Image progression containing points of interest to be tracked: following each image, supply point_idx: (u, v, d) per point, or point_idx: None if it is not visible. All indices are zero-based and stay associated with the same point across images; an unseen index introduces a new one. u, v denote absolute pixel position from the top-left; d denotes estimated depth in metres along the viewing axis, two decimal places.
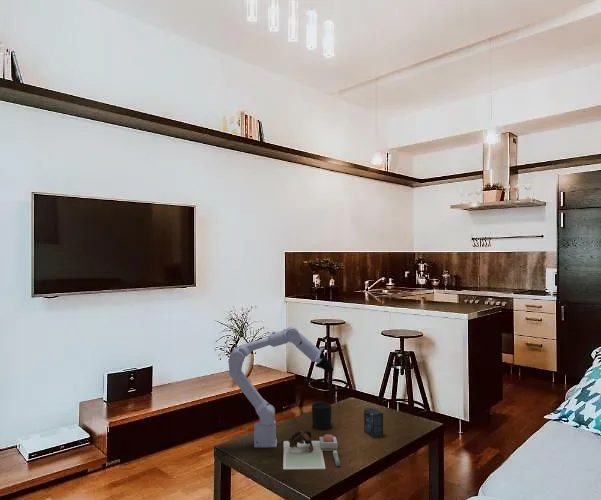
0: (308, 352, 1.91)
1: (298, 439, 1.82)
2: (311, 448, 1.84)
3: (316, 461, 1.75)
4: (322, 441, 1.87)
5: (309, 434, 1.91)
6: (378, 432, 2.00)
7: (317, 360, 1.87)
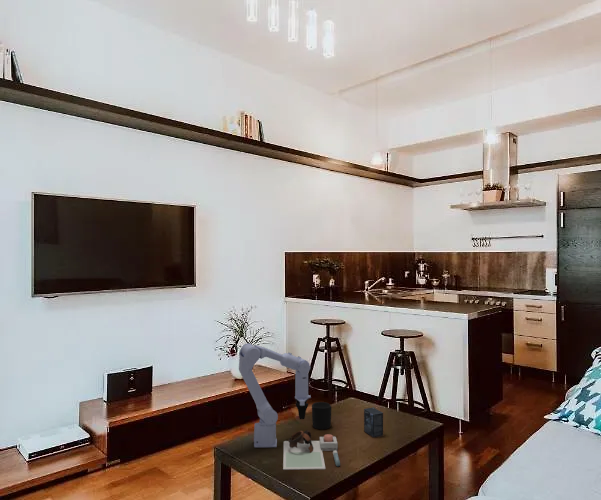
0: (300, 389, 1.97)
1: (298, 439, 1.82)
2: (311, 448, 1.84)
3: (316, 461, 1.75)
4: (322, 441, 1.87)
5: (309, 434, 1.91)
6: (378, 432, 2.00)
7: (301, 402, 1.92)
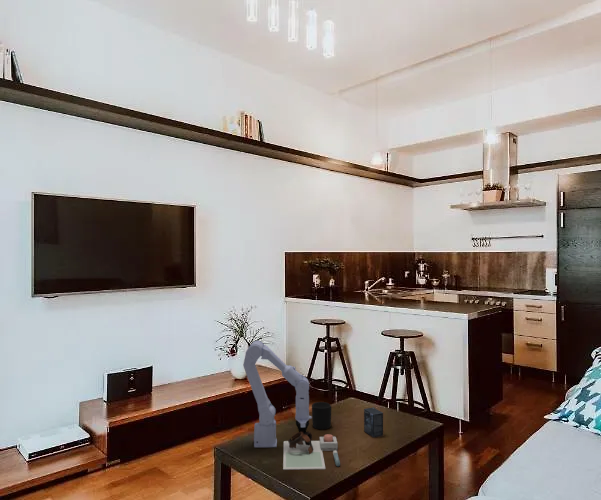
0: (300, 410, 1.89)
1: (297, 440, 1.81)
2: (310, 449, 1.82)
3: (316, 461, 1.75)
4: (322, 441, 1.87)
5: (310, 435, 1.89)
6: (378, 432, 2.00)
7: (302, 424, 1.85)
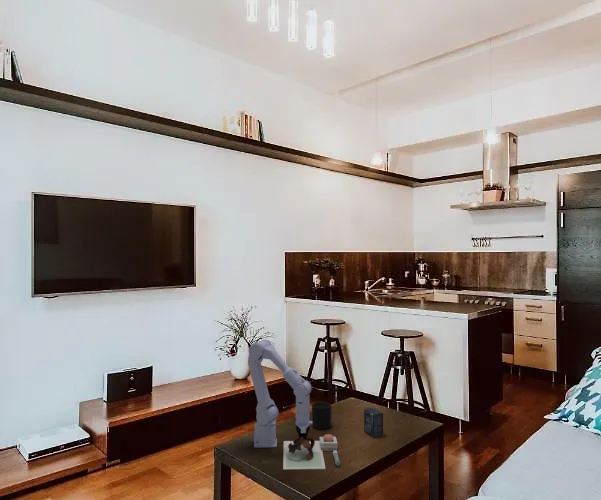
0: (301, 415, 1.83)
1: (295, 445, 1.76)
2: (309, 456, 1.76)
3: (316, 461, 1.75)
4: (322, 441, 1.87)
5: (312, 441, 1.83)
6: (378, 432, 2.00)
7: (302, 430, 1.79)
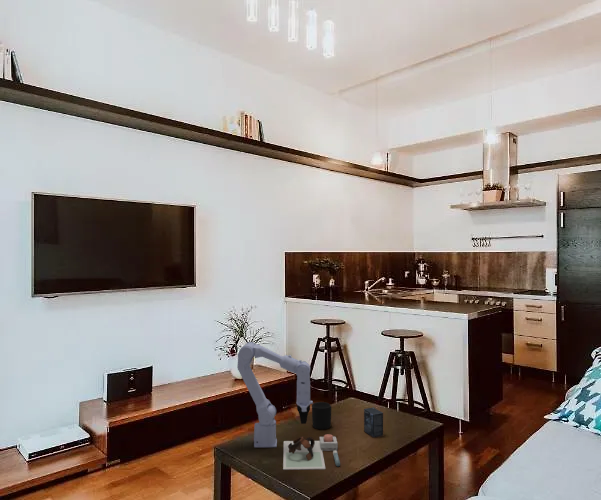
0: (301, 395, 1.88)
1: (295, 445, 1.76)
2: (309, 456, 1.76)
3: (316, 461, 1.75)
4: (322, 441, 1.87)
5: (312, 441, 1.83)
6: (378, 432, 2.00)
7: (303, 408, 1.84)
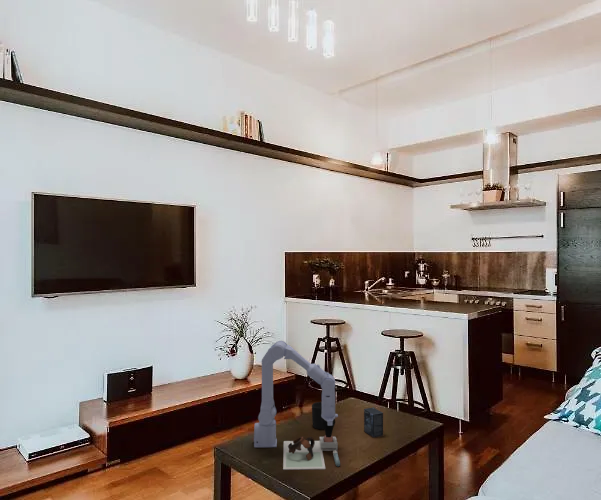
0: (327, 408, 1.87)
1: (295, 445, 1.76)
2: (309, 456, 1.76)
3: (316, 461, 1.75)
4: (322, 441, 1.87)
5: (312, 441, 1.83)
6: (378, 432, 2.00)
7: (329, 422, 1.82)
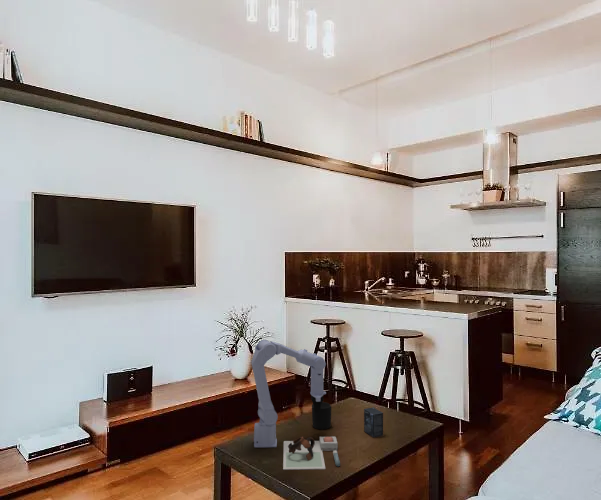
0: (315, 386, 1.99)
1: (295, 445, 1.76)
2: (309, 456, 1.76)
3: (316, 461, 1.75)
4: (322, 441, 1.87)
5: (312, 441, 1.83)
6: (378, 432, 2.00)
7: (317, 398, 1.94)
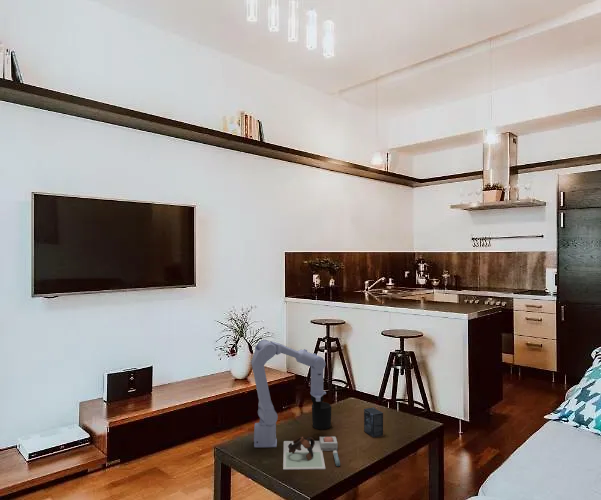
0: (315, 386, 1.99)
1: (295, 445, 1.76)
2: (309, 456, 1.76)
3: (316, 461, 1.75)
4: (322, 441, 1.87)
5: (312, 441, 1.83)
6: (378, 432, 2.00)
7: (317, 398, 1.94)
